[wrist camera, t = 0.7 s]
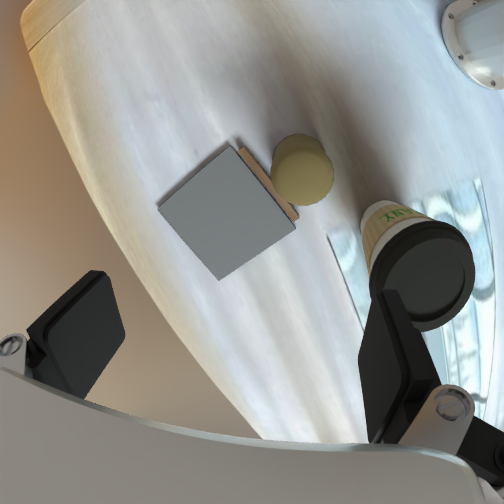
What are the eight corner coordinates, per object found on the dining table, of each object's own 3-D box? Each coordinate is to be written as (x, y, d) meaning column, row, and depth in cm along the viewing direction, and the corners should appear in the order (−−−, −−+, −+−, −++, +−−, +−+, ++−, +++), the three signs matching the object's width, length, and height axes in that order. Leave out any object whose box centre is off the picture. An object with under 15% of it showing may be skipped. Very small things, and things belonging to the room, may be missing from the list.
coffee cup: (433, 229, 33) (494, 289, 20) (375, 276, 37) (409, 356, 23) (391, 167, 31) (451, 201, 18) (328, 221, 35) (348, 287, 21)
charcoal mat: (231, 145, 33) (230, 146, 32) (295, 227, 36) (295, 229, 35) (159, 208, 37) (157, 209, 36) (219, 278, 40) (218, 280, 39)
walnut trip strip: (244, 145, 33) (243, 146, 32) (299, 214, 35) (299, 218, 34) (239, 150, 33) (237, 151, 32) (293, 218, 35) (293, 221, 34)
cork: (288, 196, 34) (286, 228, 24) (262, 149, 33) (248, 161, 23) (336, 172, 32) (354, 195, 23) (311, 124, 31) (319, 125, 21)
